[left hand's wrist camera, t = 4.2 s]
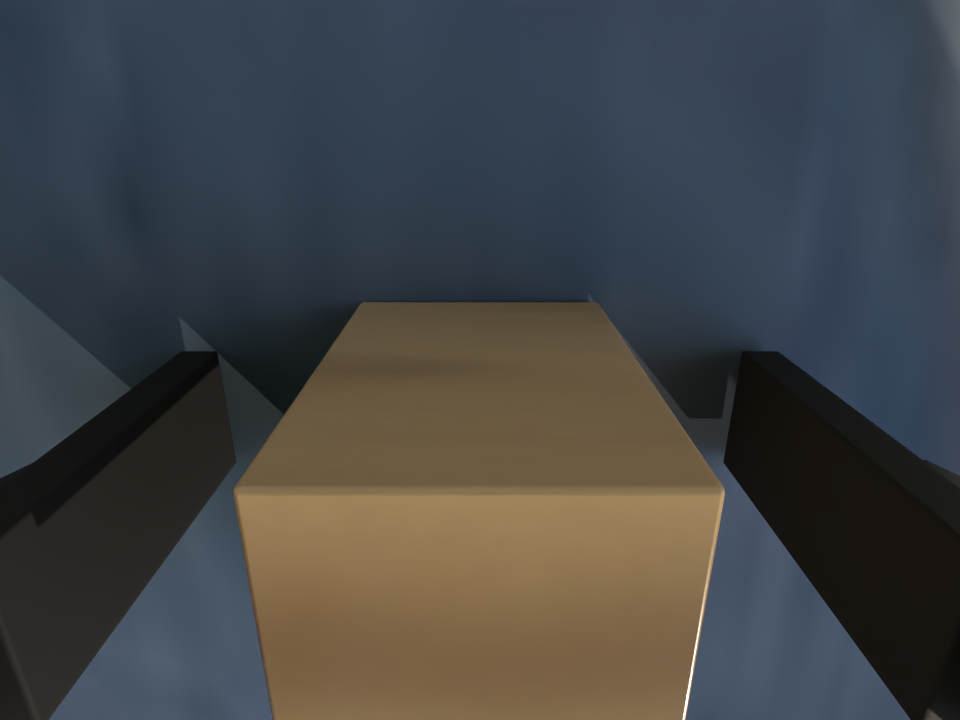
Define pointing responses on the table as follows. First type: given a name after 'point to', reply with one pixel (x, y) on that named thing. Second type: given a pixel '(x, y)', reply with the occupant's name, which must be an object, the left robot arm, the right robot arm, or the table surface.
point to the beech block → (479, 524)
